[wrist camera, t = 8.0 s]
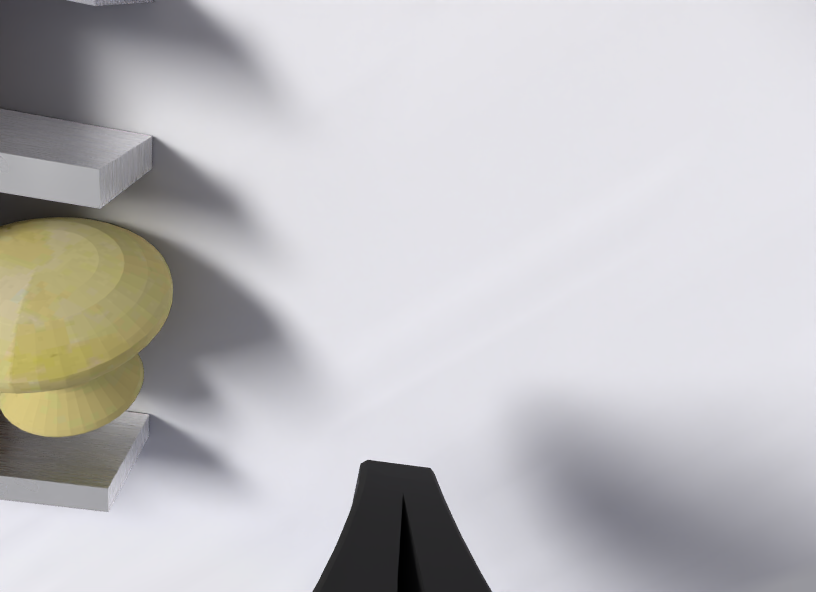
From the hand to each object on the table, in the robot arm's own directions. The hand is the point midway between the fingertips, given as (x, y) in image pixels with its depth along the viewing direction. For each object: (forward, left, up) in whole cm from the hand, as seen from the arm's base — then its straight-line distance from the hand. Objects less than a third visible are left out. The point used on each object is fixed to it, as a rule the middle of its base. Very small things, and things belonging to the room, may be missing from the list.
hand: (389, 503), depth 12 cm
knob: (0, +8, -6) cm, 10 cm away
